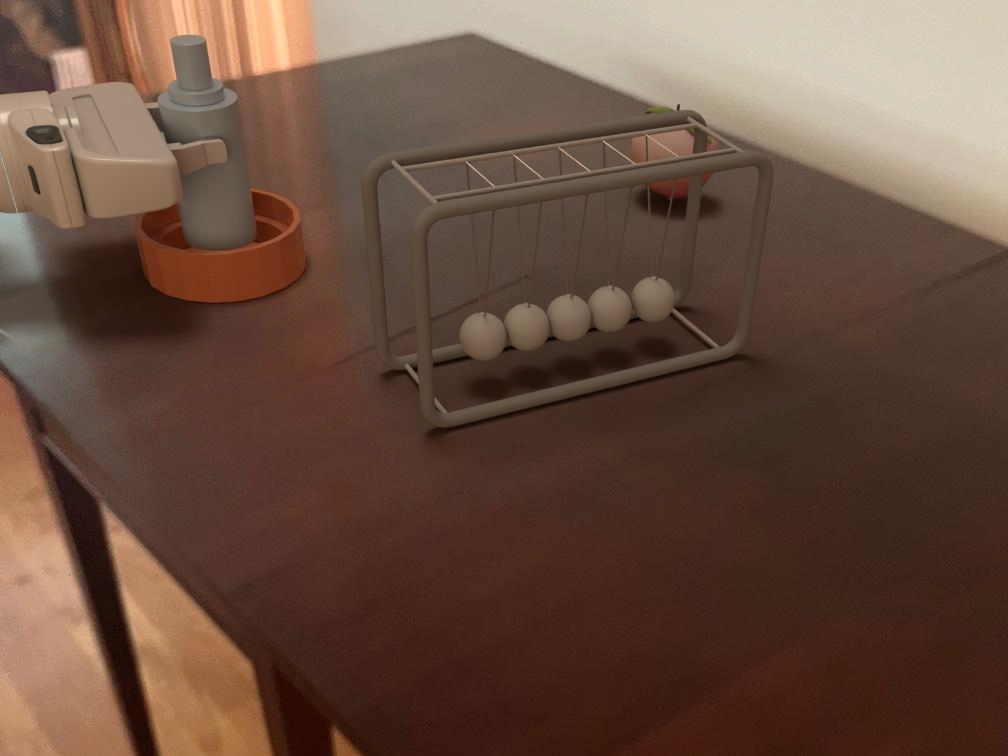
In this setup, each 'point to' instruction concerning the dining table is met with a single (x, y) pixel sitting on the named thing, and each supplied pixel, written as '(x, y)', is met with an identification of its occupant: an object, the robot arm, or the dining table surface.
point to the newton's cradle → (567, 312)
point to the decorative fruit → (669, 154)
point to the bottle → (216, 187)
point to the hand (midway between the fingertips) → (214, 132)
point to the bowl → (223, 255)
